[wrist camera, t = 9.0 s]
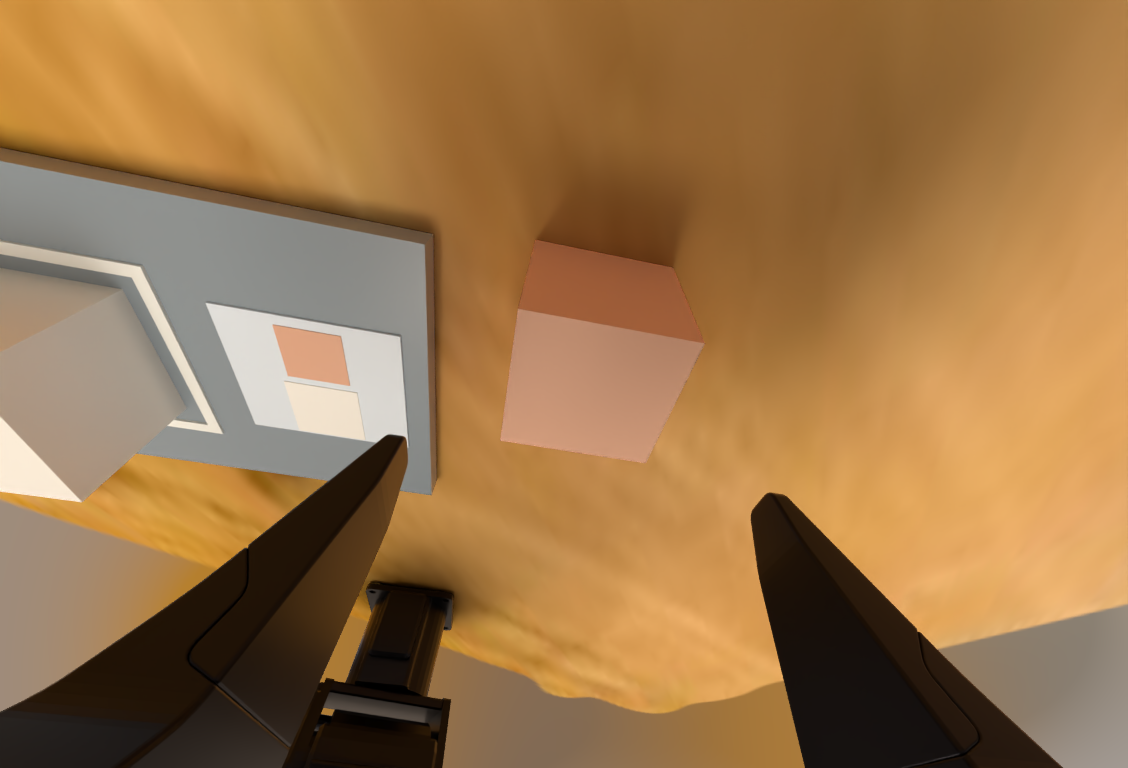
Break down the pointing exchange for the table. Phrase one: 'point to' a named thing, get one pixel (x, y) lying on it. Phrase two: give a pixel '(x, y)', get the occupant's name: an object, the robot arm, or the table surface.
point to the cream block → (74, 386)
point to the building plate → (247, 312)
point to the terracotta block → (597, 353)
